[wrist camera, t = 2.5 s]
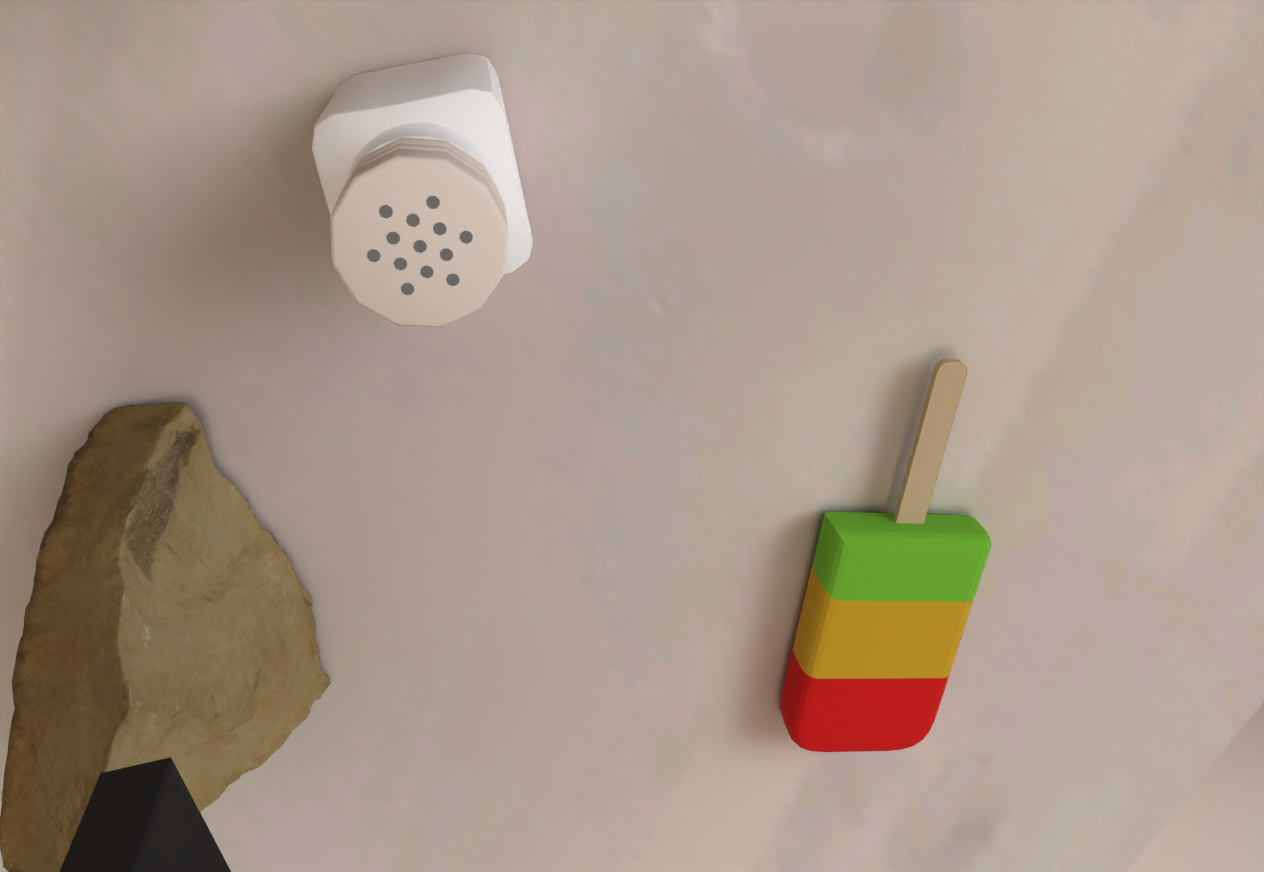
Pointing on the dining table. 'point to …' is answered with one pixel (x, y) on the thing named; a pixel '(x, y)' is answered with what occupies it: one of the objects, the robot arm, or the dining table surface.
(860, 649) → the popsicle
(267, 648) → the rock
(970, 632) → the dining table surface
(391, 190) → the pepper shaker
